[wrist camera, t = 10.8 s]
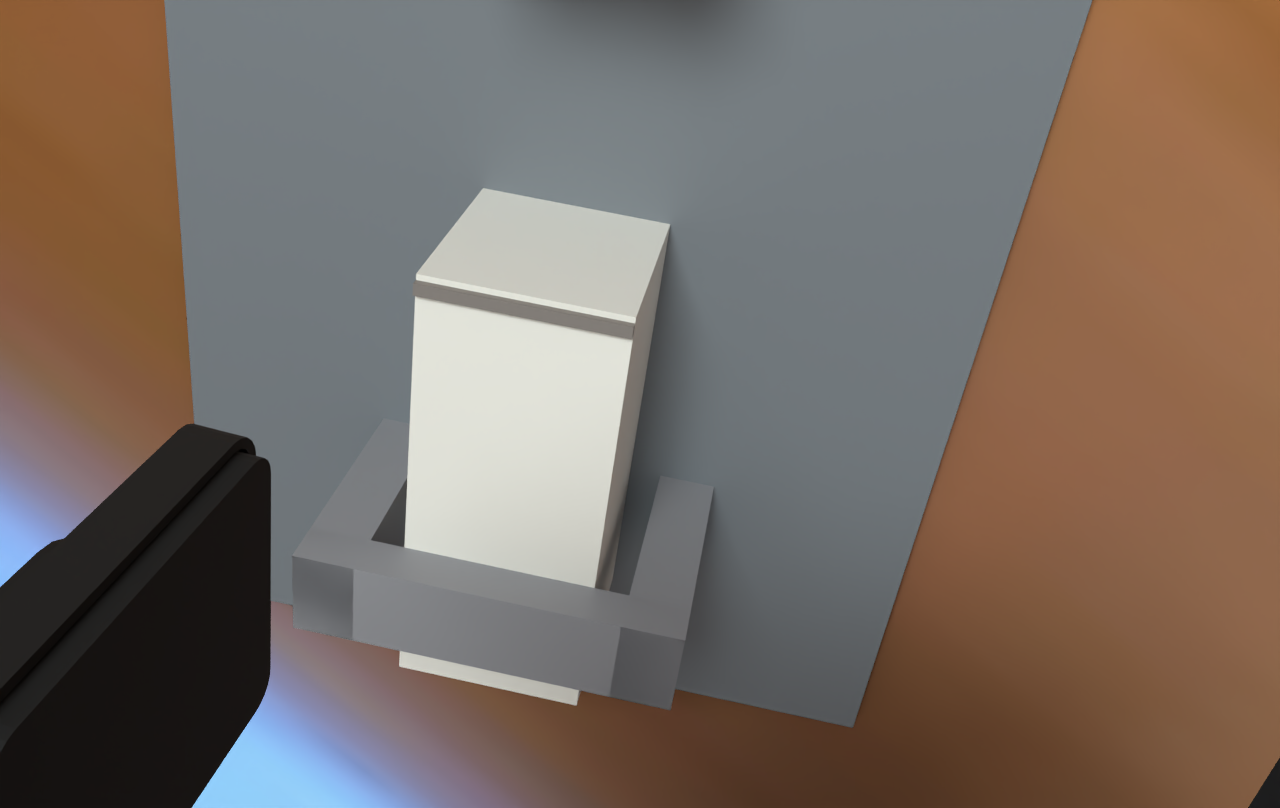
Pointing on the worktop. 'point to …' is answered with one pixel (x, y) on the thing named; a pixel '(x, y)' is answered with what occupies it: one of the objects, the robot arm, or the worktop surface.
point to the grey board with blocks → (603, 315)
